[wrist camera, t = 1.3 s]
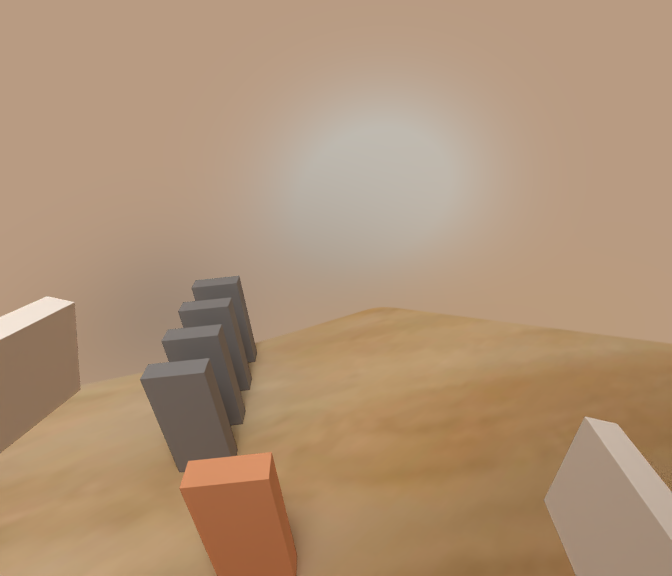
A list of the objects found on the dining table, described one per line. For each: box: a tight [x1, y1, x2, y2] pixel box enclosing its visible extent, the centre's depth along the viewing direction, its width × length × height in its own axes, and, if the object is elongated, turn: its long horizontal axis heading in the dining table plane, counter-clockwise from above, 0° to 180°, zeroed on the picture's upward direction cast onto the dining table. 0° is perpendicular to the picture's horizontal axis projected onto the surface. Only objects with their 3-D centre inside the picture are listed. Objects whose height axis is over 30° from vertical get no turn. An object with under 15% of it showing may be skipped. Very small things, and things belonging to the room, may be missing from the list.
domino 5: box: [179, 452, 297, 576], centre depth 26 cm, size 5×2×11 cm, turn 93°
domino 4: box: [140, 358, 237, 472], centre depth 35 cm, size 5×2×11 cm, turn 93°
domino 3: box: [162, 324, 245, 425], centre depth 39 cm, size 5×2×11 cm, turn 93°
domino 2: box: [178, 297, 252, 391], centre depth 43 cm, size 5×2×11 cm, turn 93°
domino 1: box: [192, 276, 257, 362], centre depth 48 cm, size 5×2×11 cm, turn 93°
